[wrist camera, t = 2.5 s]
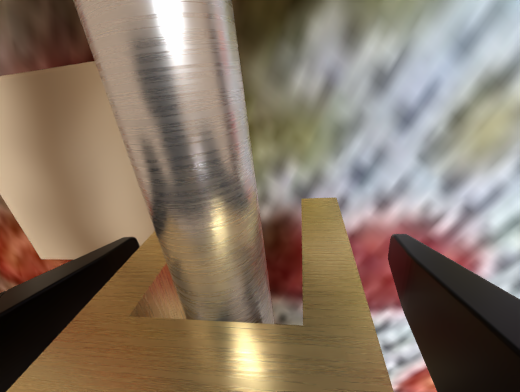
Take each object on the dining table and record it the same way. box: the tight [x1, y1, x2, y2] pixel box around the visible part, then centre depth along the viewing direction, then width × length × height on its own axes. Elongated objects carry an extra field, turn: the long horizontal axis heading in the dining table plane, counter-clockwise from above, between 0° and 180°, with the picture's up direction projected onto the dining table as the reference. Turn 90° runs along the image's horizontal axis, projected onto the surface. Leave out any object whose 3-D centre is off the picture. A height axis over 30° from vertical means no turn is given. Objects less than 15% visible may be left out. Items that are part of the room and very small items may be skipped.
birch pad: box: [0, 61, 155, 260], centre depth 12 cm, size 9×9×1 cm
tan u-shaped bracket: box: [6, 198, 393, 392], centre depth 7 cm, size 6×2×6 cm, turn 97°
